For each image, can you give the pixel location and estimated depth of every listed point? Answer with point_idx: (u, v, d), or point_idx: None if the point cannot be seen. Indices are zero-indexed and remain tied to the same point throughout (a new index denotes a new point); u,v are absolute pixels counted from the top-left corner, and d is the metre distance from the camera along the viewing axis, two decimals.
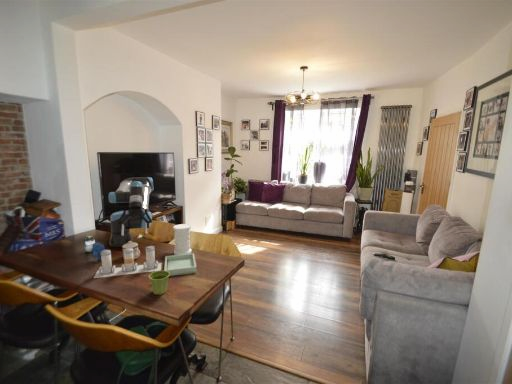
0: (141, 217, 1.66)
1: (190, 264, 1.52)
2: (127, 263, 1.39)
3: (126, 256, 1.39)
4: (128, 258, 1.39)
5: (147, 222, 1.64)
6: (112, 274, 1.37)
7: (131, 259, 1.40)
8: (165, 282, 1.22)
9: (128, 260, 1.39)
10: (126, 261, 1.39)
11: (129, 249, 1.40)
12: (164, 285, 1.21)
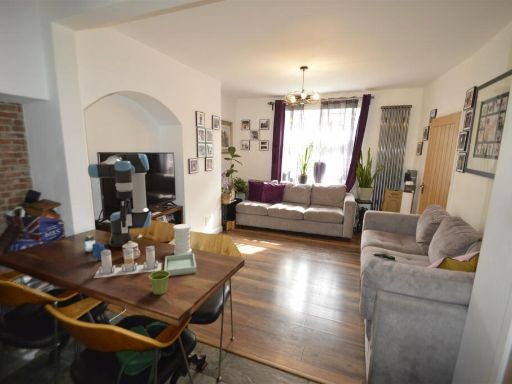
0: None
1: (190, 264, 1.52)
2: (127, 263, 1.39)
3: (126, 256, 1.39)
4: (128, 258, 1.39)
5: (120, 221, 1.30)
6: (112, 274, 1.37)
7: (131, 259, 1.40)
8: (165, 282, 1.22)
9: (128, 260, 1.39)
10: (126, 261, 1.39)
11: (129, 249, 1.40)
12: (164, 285, 1.21)
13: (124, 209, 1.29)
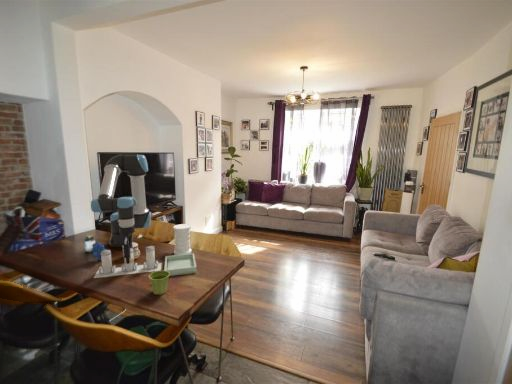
0: None
1: (190, 264, 1.52)
2: None
3: None
4: None
5: None
6: (112, 274, 1.37)
7: (131, 259, 1.40)
8: (165, 282, 1.22)
9: None
10: None
11: None
12: (164, 285, 1.21)
13: (127, 248, 1.34)
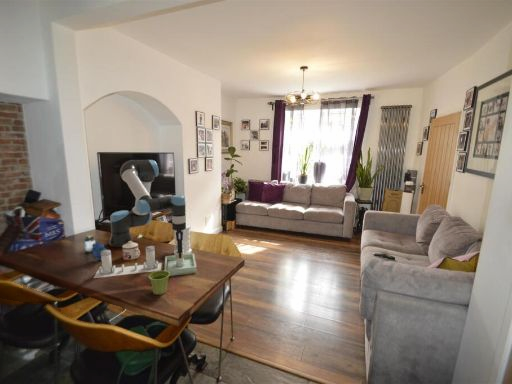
0: None
1: (190, 264, 1.52)
2: None
3: None
4: None
5: (177, 252, 1.44)
6: (112, 274, 1.37)
7: None
8: (165, 282, 1.22)
9: None
10: None
11: None
12: (164, 285, 1.21)
13: (181, 242, 1.42)
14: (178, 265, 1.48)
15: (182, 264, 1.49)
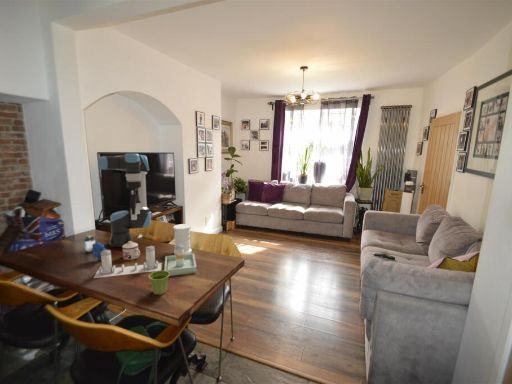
0: None
1: (190, 264, 1.52)
2: (179, 259, 1.47)
3: (178, 252, 1.47)
4: (179, 254, 1.47)
5: (130, 208, 1.41)
6: (112, 274, 1.37)
7: (182, 255, 1.48)
8: (165, 282, 1.22)
9: (180, 256, 1.47)
10: (178, 257, 1.47)
11: (180, 245, 1.48)
12: (164, 285, 1.21)
13: (134, 198, 1.41)
14: (178, 265, 1.48)
15: (182, 264, 1.49)
